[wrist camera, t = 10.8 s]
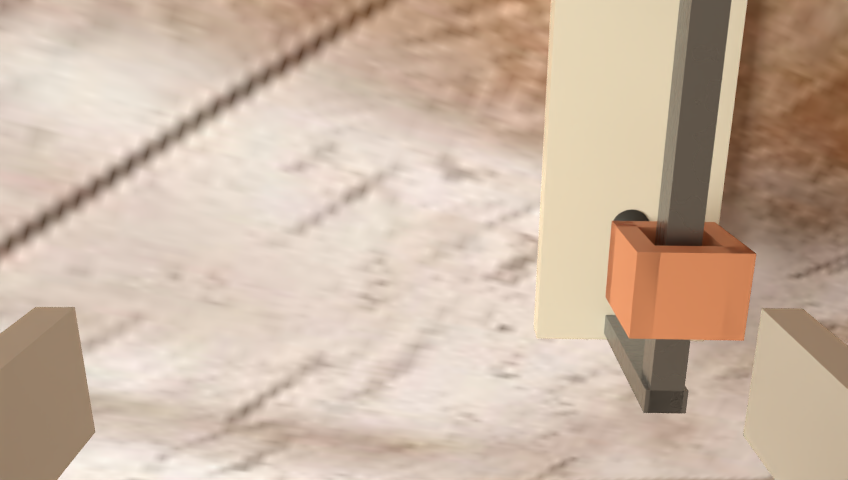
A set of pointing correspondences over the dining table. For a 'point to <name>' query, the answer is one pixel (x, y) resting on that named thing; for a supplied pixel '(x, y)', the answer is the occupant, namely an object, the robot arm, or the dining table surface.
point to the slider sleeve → (679, 284)
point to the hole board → (609, 146)
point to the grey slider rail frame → (680, 192)
